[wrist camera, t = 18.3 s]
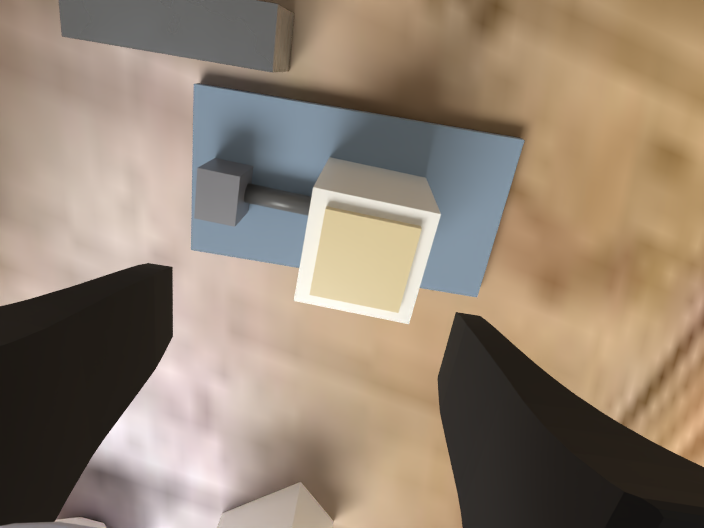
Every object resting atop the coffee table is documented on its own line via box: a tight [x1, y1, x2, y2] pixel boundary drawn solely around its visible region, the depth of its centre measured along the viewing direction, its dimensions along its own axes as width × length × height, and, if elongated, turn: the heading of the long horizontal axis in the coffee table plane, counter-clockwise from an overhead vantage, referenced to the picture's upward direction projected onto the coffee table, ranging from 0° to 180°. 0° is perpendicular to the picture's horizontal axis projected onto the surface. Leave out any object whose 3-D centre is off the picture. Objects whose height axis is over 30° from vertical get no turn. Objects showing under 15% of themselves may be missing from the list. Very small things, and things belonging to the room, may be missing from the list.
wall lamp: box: [194, 157, 441, 324], centre depth 17 cm, size 9×4×5 cm, turn 79°
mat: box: [191, 83, 524, 297], centre depth 20 cm, size 13×7×1 cm, turn 81°
